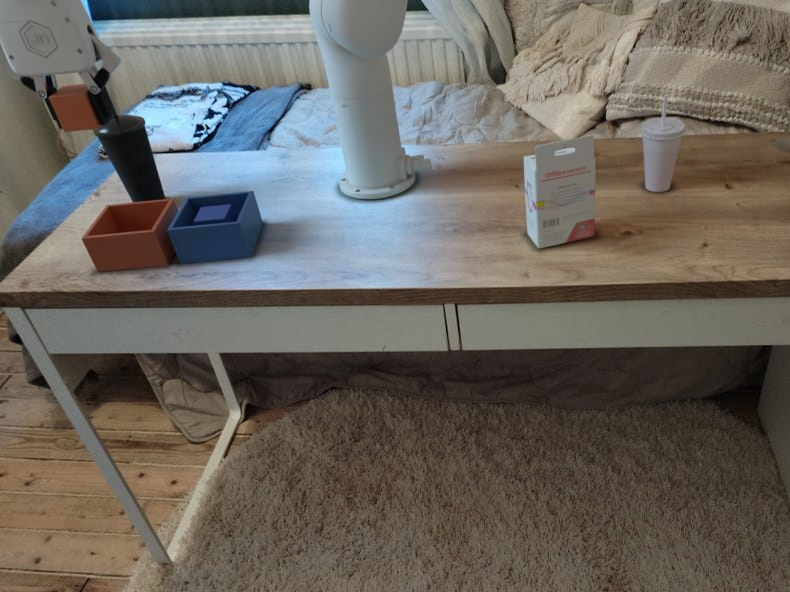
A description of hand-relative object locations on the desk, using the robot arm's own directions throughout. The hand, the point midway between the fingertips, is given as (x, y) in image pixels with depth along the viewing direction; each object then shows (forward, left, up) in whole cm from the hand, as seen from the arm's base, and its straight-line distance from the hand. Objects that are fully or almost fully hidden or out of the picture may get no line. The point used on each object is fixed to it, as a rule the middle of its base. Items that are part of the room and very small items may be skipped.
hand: (86, 122), depth 93 cm
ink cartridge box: (-62, +7, -20) cm, 65 cm away
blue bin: (-12, 0, -20) cm, 23 cm away
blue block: (-12, 0, -19) cm, 23 cm away
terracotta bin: (0, 0, -20) cm, 20 cm away
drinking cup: (+3, -16, -20) cm, 25 cm away
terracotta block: (0, 0, 0) cm, 0 cm away
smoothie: (-79, -5, -20) cm, 81 cm away
